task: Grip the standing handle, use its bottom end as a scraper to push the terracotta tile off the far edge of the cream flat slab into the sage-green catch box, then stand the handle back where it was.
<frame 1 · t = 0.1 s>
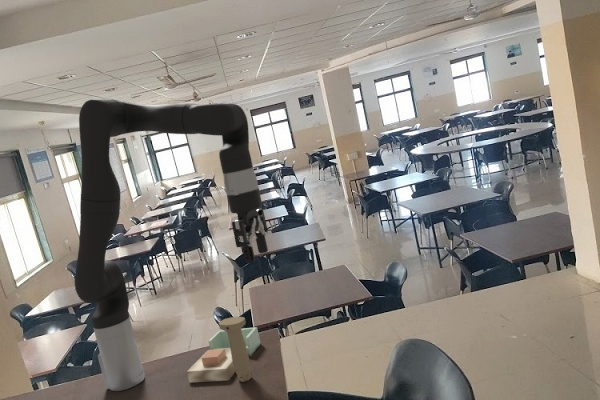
hand: (257, 257, 120), 29 cm above the table, fingers open, 8 cm apart
catch box: (236, 351, 142), on the table
handle: (245, 380, 124), on the table
cream flat slab: (219, 369, 133), on the table
tile: (214, 360, 131), point 3 cm above the table, touching cream flat slab
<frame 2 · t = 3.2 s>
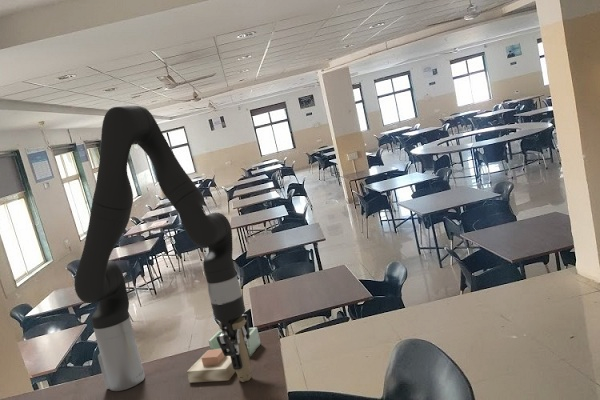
hand: (241, 363, 123), 4 cm above the table, fingers closed on handle, 4 cm apart
handle: (245, 380, 124), on the table, touching gripper
everything else where it was.
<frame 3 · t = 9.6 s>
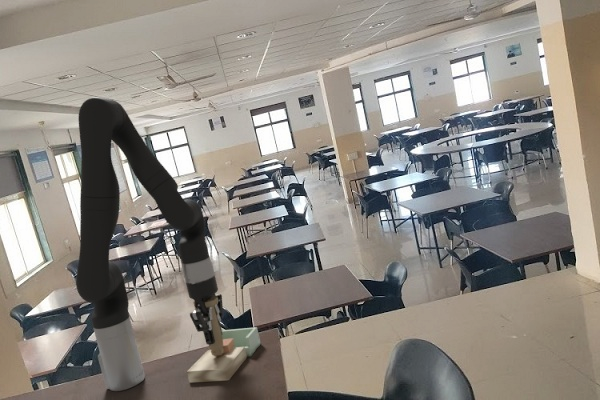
hand: (214, 339, 133), 8 cm above the table, fingers closed on handle, 4 cm apart
handle: (218, 354, 133), point 3 cm above the table, touching gripper
tile: (224, 349, 137), point 3 cm above the table, touching cream flat slab
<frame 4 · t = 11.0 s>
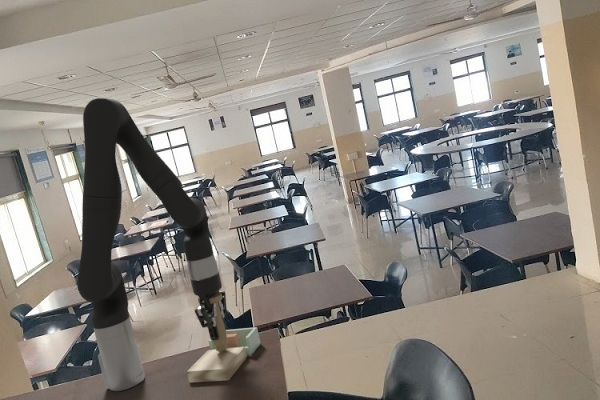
hand: (218, 335, 135), 8 cm above the table, fingers closed on handle, 4 cm apart
handle: (222, 350, 136), point 3 cm above the table, touching gripper
tile: (229, 344, 141), point 3 cm above the table, tilted 90°, touching catch box
when the fingers open (5 cm above the table, at t = 16.2 s): handle drops 1 cm, on the table.
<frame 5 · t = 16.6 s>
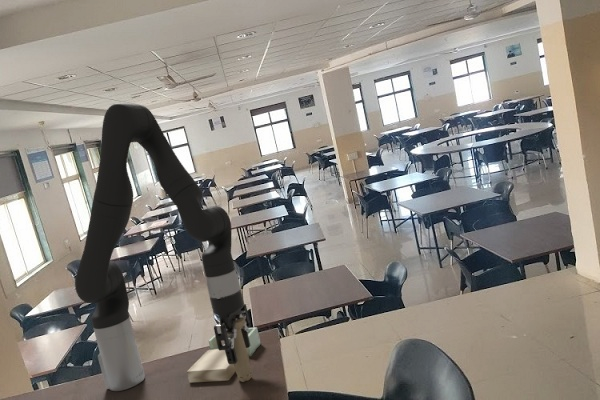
hand: (239, 355, 123), 6 cm above the table, fingers open, 8 cm apart
handle: (245, 380, 124), on the table
everything else where it was.
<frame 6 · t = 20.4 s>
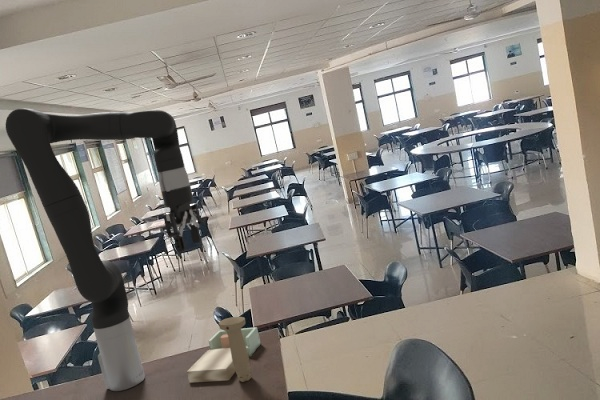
hand: (189, 246, 135), 32 cm above the table, fingers open, 8 cm apart
nothing on the table moved.
at the end: tile inside the target area (1.7 cm from its centre), point 2.7 cm above the table; handle tilted 0°; handle moved 0.2 cm from its start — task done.
